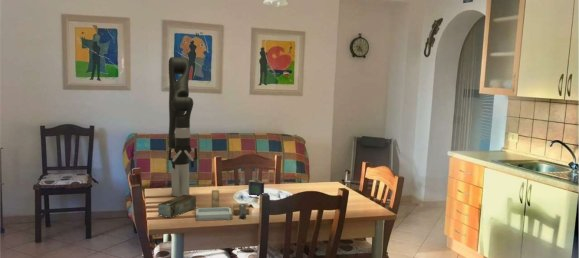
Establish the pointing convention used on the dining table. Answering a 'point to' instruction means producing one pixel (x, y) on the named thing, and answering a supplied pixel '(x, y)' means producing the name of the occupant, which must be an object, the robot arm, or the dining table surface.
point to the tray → (214, 213)
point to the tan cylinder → (215, 198)
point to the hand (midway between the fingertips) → (183, 168)
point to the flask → (255, 187)
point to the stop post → (242, 211)
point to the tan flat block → (236, 208)
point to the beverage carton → (177, 205)
